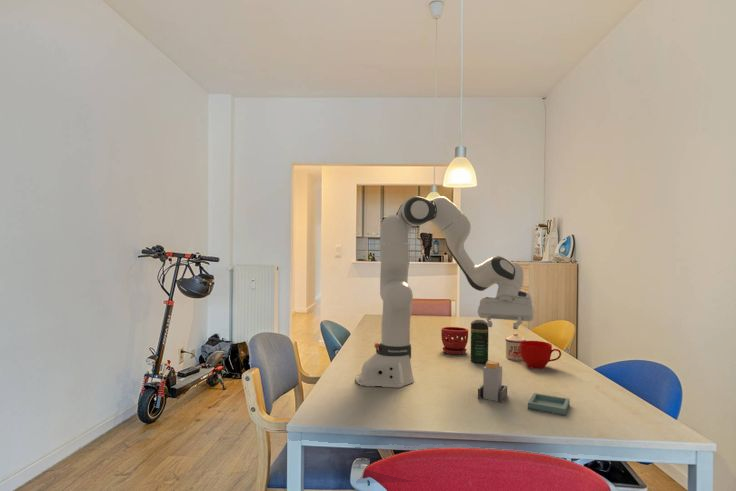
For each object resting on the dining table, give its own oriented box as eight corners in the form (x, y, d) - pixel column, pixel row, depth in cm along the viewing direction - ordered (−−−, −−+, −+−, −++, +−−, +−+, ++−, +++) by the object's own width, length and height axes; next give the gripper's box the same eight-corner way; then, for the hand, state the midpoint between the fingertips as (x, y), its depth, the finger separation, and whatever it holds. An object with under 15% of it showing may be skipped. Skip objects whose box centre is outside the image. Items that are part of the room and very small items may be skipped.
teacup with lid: (506, 360, 202) (506, 334, 202) (504, 355, 211) (504, 331, 211) (534, 361, 200) (534, 335, 200) (530, 356, 208) (530, 332, 209)
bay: (477, 398, 149) (477, 388, 149) (484, 392, 156) (484, 382, 156) (501, 403, 145) (501, 392, 145) (507, 396, 152) (507, 386, 152)
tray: (527, 409, 139) (527, 402, 139) (534, 399, 149) (534, 392, 149) (565, 416, 134) (565, 409, 134) (569, 405, 143) (569, 398, 143)
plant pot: (471, 355, 210) (471, 330, 210) (443, 355, 210) (443, 330, 210) (465, 349, 223) (465, 326, 223) (439, 349, 223) (439, 325, 223)
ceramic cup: (557, 374, 179) (557, 349, 179) (515, 367, 189) (515, 344, 189) (564, 367, 189) (564, 344, 189) (525, 361, 200) (525, 339, 200)
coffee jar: (488, 364, 194) (488, 322, 194) (470, 363, 196) (470, 321, 196) (488, 359, 204) (488, 319, 204) (470, 357, 206) (470, 318, 206)
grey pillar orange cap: (483, 398, 149) (483, 363, 150) (487, 394, 154) (487, 360, 154) (498, 401, 147) (498, 365, 147) (501, 396, 151) (501, 361, 151)
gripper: (479, 291, 173) (472, 320, 165) (534, 293, 163) (529, 324, 154) (483, 301, 177) (476, 330, 168) (536, 304, 167) (532, 334, 158)
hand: (502, 327), depth 161 cm, fingers open, 8 cm apart
